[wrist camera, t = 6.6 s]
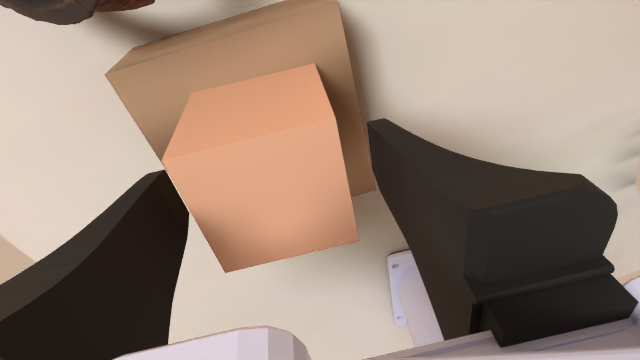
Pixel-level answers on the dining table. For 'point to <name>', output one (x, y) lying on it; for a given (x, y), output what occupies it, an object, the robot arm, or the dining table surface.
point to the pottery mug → (69, 8)
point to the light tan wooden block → (246, 71)
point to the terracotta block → (263, 168)
